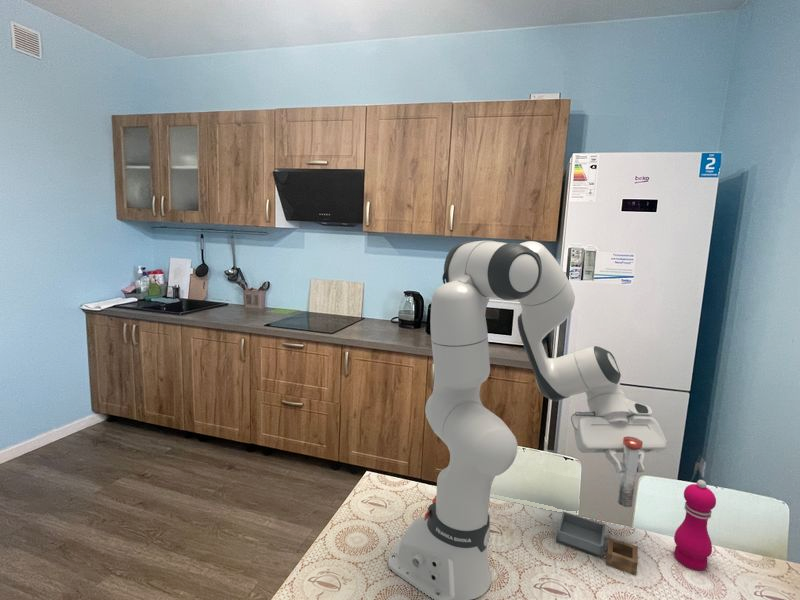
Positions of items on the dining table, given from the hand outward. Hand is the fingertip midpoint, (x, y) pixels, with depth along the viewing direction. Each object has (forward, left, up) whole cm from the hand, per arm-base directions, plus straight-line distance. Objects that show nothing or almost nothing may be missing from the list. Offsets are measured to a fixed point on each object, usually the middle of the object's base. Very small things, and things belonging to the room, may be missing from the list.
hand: (630, 472), depth 94 cm
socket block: (0, 0, -22) cm, 22 cm away
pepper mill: (+14, +9, -22) cm, 28 cm away
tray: (-9, +3, -22) cm, 24 cm away
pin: (0, +1, -8) cm, 8 cm away
